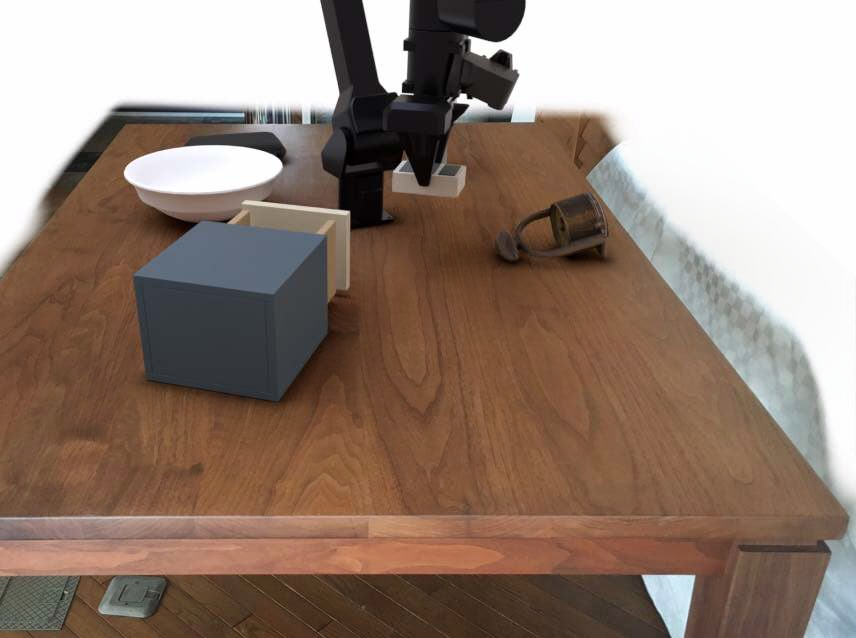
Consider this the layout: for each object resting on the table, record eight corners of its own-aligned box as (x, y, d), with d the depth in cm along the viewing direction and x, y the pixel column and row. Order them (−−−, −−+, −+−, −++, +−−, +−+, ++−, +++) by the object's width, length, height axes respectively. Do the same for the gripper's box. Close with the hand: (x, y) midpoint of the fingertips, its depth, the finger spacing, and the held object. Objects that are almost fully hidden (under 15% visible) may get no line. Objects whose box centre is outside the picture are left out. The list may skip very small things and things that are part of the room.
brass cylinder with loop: (621, 231, 96) (620, 182, 103) (501, 212, 98) (508, 165, 105) (604, 284, 101) (604, 235, 108) (490, 266, 103) (498, 218, 110)
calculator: (391, 191, 98) (392, 171, 97) (402, 179, 102) (402, 159, 101) (457, 198, 97) (458, 177, 95) (464, 185, 100) (466, 164, 99)
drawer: (263, 260, 101) (259, 188, 97) (360, 272, 98) (361, 198, 94) (200, 322, 88) (193, 242, 84) (311, 338, 85) (309, 256, 81)
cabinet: (209, 315, 91) (202, 220, 86) (328, 333, 88) (327, 234, 83) (145, 379, 80) (132, 274, 75) (278, 402, 77) (273, 294, 72)
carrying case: (191, 174, 131) (290, 167, 134) (189, 153, 129) (290, 146, 132) (183, 154, 140) (277, 147, 143) (182, 134, 138) (276, 128, 141)
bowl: (147, 190, 125) (142, 144, 122) (290, 191, 124) (288, 145, 121) (113, 243, 108) (106, 191, 105) (278, 244, 107) (276, 192, 104)
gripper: (503, 47, 81) (488, 214, 89) (529, 16, 96) (514, 161, 104) (383, 41, 84) (379, 203, 92) (427, 12, 99) (420, 153, 107)
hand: (429, 179), depth 99 cm, fingers closed on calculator, 4 cm apart
